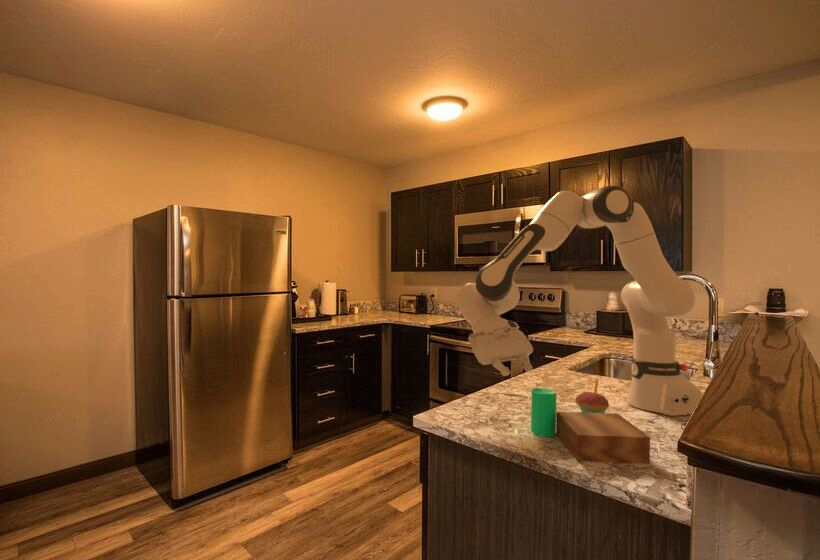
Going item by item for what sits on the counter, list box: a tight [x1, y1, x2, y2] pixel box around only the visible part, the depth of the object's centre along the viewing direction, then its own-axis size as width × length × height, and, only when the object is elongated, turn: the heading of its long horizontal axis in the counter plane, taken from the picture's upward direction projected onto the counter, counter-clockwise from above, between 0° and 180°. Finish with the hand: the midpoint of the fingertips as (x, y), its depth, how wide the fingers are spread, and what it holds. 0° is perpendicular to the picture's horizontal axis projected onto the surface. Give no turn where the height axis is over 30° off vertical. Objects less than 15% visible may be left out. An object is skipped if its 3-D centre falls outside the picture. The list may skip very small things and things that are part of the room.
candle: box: [530, 387, 557, 437], centre depth 104 cm, size 6×6×12 cm
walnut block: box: [555, 411, 651, 465], centre depth 95 cm, size 15×15×6 cm
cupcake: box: [575, 377, 610, 413], centre depth 115 cm, size 9×8×12 cm
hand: (518, 372), depth 110 cm, fingers open, 8 cm apart
